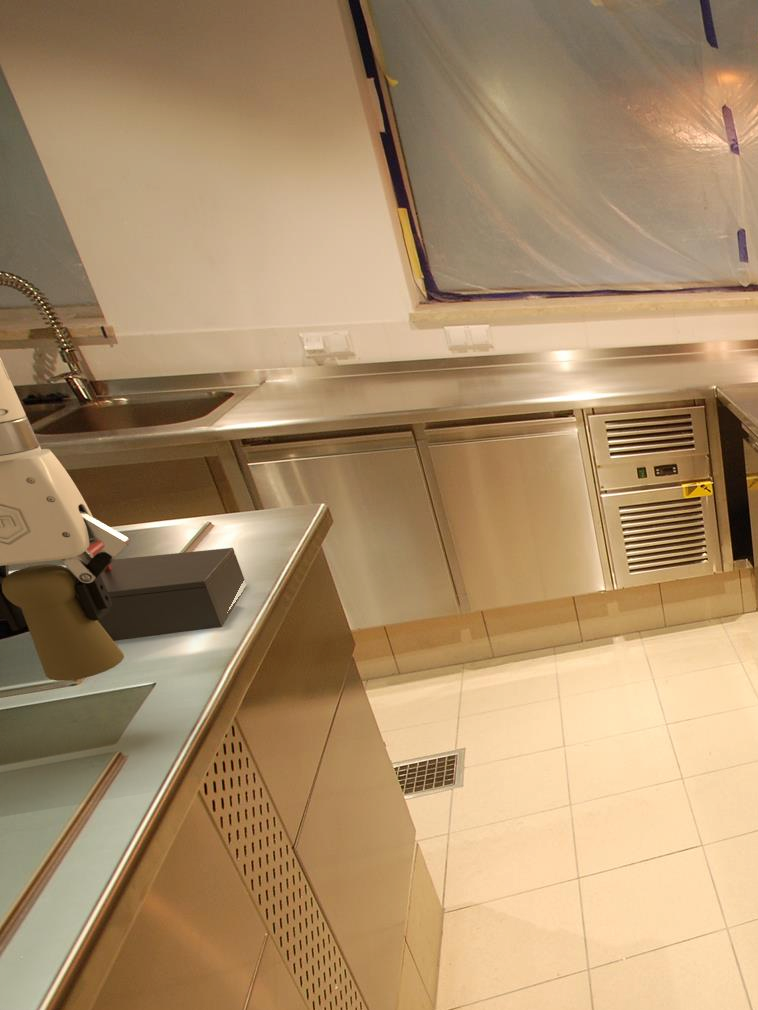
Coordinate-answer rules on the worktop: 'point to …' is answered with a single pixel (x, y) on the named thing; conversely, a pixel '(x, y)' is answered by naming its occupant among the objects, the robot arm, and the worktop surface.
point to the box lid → (161, 571)
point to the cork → (60, 623)
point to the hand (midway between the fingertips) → (62, 618)
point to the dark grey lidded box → (175, 608)
